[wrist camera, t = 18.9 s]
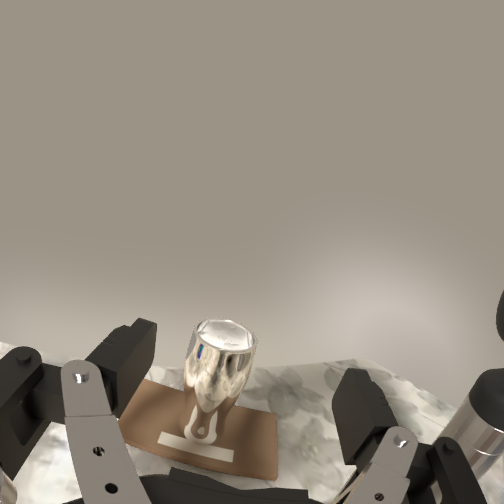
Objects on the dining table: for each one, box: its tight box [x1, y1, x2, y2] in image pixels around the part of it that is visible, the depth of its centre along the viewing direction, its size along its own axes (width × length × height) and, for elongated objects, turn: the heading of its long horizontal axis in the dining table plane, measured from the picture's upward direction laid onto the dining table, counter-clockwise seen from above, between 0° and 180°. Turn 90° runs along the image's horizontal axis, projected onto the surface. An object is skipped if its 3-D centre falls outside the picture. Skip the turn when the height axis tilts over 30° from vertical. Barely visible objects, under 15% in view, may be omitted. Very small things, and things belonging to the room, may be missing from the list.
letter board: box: [117, 379, 278, 481], centre depth 32 cm, size 20×12×1 cm, turn 87°
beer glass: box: [178, 318, 258, 445], centre depth 30 cm, size 7×7×15 cm
